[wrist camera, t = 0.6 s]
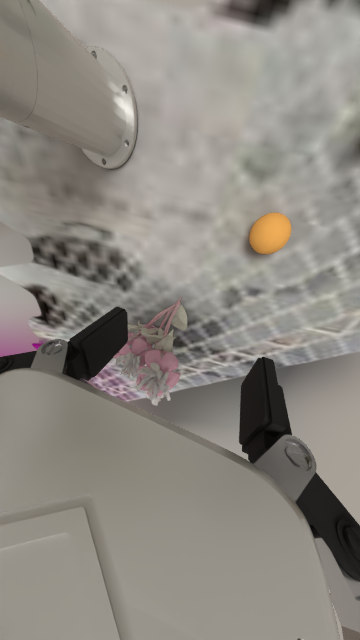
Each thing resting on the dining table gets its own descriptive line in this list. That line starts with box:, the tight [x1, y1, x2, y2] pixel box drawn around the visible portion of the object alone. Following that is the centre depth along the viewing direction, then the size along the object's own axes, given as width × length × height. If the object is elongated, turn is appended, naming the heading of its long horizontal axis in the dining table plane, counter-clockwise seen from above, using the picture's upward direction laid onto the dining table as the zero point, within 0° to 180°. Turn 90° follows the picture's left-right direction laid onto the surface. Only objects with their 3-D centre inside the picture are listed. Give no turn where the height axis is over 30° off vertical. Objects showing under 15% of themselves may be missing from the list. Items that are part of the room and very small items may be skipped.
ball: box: [249, 213, 291, 254], centre depth 27 cm, size 6×6×6 cm
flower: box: [113, 297, 187, 406], centre depth 40 cm, size 20×22×25 cm
